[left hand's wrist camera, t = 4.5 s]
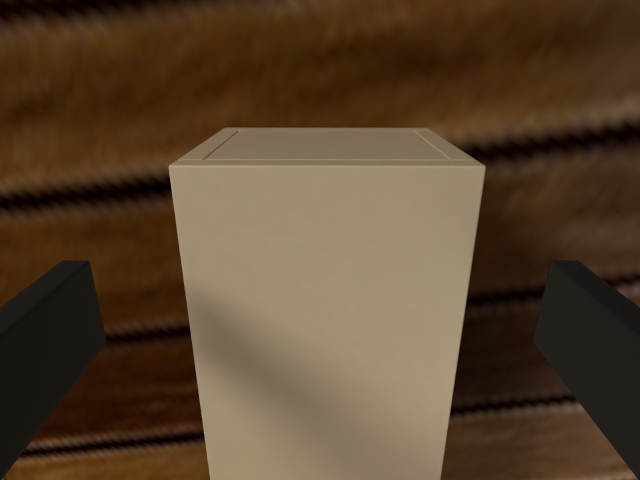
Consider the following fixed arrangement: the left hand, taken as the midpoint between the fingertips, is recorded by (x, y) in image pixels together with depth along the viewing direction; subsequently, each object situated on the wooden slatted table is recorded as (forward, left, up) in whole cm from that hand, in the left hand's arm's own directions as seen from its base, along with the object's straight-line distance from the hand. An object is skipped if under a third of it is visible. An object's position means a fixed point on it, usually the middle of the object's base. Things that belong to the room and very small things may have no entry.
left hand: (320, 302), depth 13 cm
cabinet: (+1, +7, -10) cm, 12 cm away
